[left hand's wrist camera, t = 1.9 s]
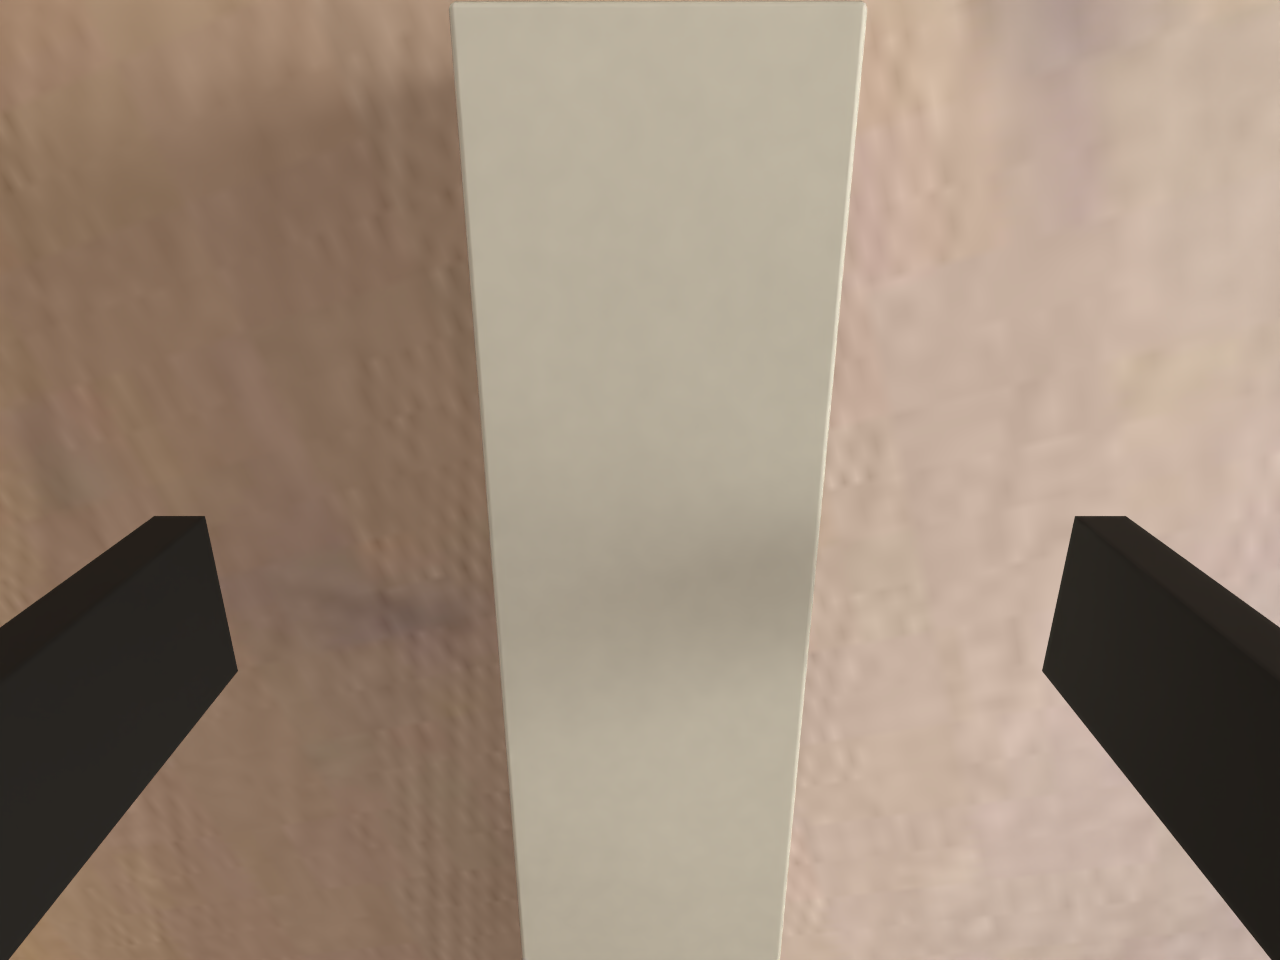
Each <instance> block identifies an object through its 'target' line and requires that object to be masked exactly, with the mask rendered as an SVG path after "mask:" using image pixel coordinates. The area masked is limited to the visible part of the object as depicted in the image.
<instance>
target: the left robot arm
mask: <svg viewBox="0 0 1280 960" xmlns="http://www.w3.org/2000/svg"><path fill="white" fill-rule="evenodd" d="M237 671H238V669H237V665H236V660H235V655H234V651H233V646H232V641H231V637H230V632H229V627H228V622H227V618H226V613H225V608H224V604H223V599H222V594H221V590H220V585H219V580H218V575H217V571H216V566H215V561H214V557H213V552H212V547H211V543H210V538H209V533H208V528H207V524H206V519H205V516H154V517H152V518H151V519H150V520H148V521H147V522H145V523H144V524H143V525H141V526H140V527H139V528H137V529H136V530H134V531H133V532H132V533H130V534H129V535H128V536H126V537H125V538H123V539H122V540H121V541H119V542H118V543H116V544H115V545H114V546H112V547H111V548H110V549H108V550H107V551H105V552H104V553H103V554H101V555H100V556H99V557H97V558H96V559H94V560H93V561H92V562H90V563H89V564H87V565H86V566H85V567H83V568H82V569H81V570H79V571H78V572H76V573H75V574H74V575H72V576H71V577H69V578H68V579H67V580H65V581H64V582H63V583H61V584H60V585H58V586H57V587H56V588H54V589H53V590H52V591H50V592H49V593H47V594H46V595H45V596H43V597H42V598H40V599H39V600H38V601H36V602H35V603H34V604H32V605H31V606H29V607H28V608H27V609H25V610H24V611H23V612H21V613H20V614H18V615H17V616H16V617H14V618H13V619H11V620H10V621H9V622H7V623H6V624H5V625H3V626H2V627H0V960H9V958H10V957H11V956H12V955H13V953H14V952H15V951H16V950H17V948H18V947H19V946H20V945H21V943H22V942H23V941H24V940H25V938H26V937H27V936H28V935H29V933H30V932H31V931H32V929H33V928H34V927H35V926H36V924H37V923H38V922H39V921H40V919H41V918H42V917H43V916H44V914H45V913H46V912H47V911H48V909H49V908H50V907H51V906H52V904H53V903H54V902H55V901H56V899H57V898H58V897H59V895H60V894H61V893H62V892H63V890H64V889H65V888H66V887H67V885H68V884H69V883H70V882H71V880H72V879H73V878H74V877H75V875H76V874H77V873H78V872H79V870H80V869H81V868H82V867H83V865H84V864H85V863H86V861H87V860H88V859H89V858H90V856H91V855H92V854H93V853H94V851H95V850H96V849H97V848H98V846H99V845H100V844H101V843H102V841H103V840H104V839H105V838H106V836H107V835H108V834H109V833H110V831H111V830H112V829H113V827H114V826H115V825H116V824H117V822H118V821H119V820H120V819H121V817H122V816H123V815H124V814H125V812H126V811H127V810H128V809H129V807H130V806H131V805H132V804H133V802H134V801H135V800H136V799H137V797H138V796H139V795H140V793H141V792H142V791H143V790H144V788H145V787H146V786H147V785H148V783H149V782H150V781H151V780H152V778H153V777H154V776H155V775H156V773H157V772H158V771H159V770H160V768H161V767H162V766H163V765H164V763H165V762H166V761H167V760H168V758H169V757H170V756H171V754H172V753H173V752H174V751H175V749H176V748H177V747H178V746H179V744H180V743H181V742H182V741H183V739H184V738H185V737H186V736H187V734H188V733H189V732H190V731H191V729H192V728H193V727H194V726H195V724H196V723H197V722H198V720H199V719H200V718H201V717H202V715H203V714H204V713H205V712H206V710H207V709H208V708H209V707H210V705H211V704H212V703H213V702H214V700H215V699H216V698H217V697H218V695H219V694H220V693H221V692H222V690H223V689H224V688H225V686H226V685H227V684H228V683H229V681H230V680H231V679H232V678H233V676H234V675H235V674H236V673H237ZM1042 671H1043V673H1044V674H1045V675H1046V676H1047V678H1048V679H1049V680H1050V681H1051V683H1052V684H1053V685H1054V686H1055V688H1056V689H1057V690H1058V692H1059V693H1060V694H1061V695H1062V697H1063V698H1064V699H1065V700H1066V702H1067V703H1068V704H1069V705H1070V707H1071V708H1072V709H1073V710H1074V712H1075V713H1076V714H1077V715H1078V717H1079V718H1080V719H1081V720H1082V722H1083V723H1084V724H1085V726H1086V727H1087V728H1088V729H1089V731H1090V732H1091V733H1092V734H1093V736H1094V737H1095V738H1096V739H1097V741H1098V742H1099V743H1100V744H1101V746H1102V747H1103V748H1104V749H1105V751H1106V752H1107V753H1108V754H1109V756H1110V757H1111V758H1112V760H1113V761H1114V762H1115V763H1116V765H1117V766H1118V767H1119V768H1120V770H1121V771H1122V772H1123V773H1124V775H1125V776H1126V777H1127V778H1128V780H1129V781H1130V782H1131V783H1132V785H1133V786H1134V787H1135V788H1136V790H1137V791H1138V792H1139V793H1140V795H1141V796H1142V797H1143V799H1144V800H1145V801H1146V802H1147V804H1148V805H1149V806H1150V807H1151V809H1152V810H1153V811H1154V812H1155V814H1156V815H1157V816H1158V817H1159V819H1160V820H1161V821H1162V822H1163V824H1164V825H1165V826H1166V827H1167V829H1168V830H1169V831H1170V833H1171V834H1172V835H1173V836H1174V838H1175V839H1176V840H1177V841H1178V843H1179V844H1180V845H1181V846H1182V848H1183V849H1184V850H1185V851H1186V853H1187V854H1188V855H1189V856H1190V858H1191V859H1192V860H1193V861H1194V863H1195V864H1196V865H1197V867H1198V868H1199V869H1200V870H1201V872H1202V873H1203V874H1204V875H1205V877H1206V878H1207V879H1208V880H1209V882H1210V883H1211V884H1212V885H1213V887H1214V888H1215V889H1216V890H1217V892H1218V893H1219V894H1220V895H1221V897H1222V898H1223V899H1224V901H1225V902H1226V903H1227V904H1228V906H1229V907H1230V908H1231V909H1232V911H1233V912H1234V913H1235V914H1236V916H1237V917H1238V918H1239V919H1240V921H1241V922H1242V923H1243V924H1244V926H1245V927H1246V928H1247V929H1248V931H1249V932H1250V933H1251V935H1252V936H1253V937H1254V938H1255V940H1256V941H1257V942H1258V943H1259V945H1260V946H1261V947H1262V948H1263V950H1264V951H1265V952H1266V953H1267V955H1268V956H1269V957H1270V958H1271V960H1280V627H1278V626H1277V625H1275V624H1274V623H1273V622H1271V621H1270V620H1269V619H1267V618H1266V617H1264V616H1263V615H1262V614H1260V613H1259V612H1257V611H1256V610H1255V609H1253V608H1252V607H1251V606H1249V605H1248V604H1246V603H1245V602H1244V601H1242V600H1241V599H1240V598H1238V597H1237V596H1235V595H1234V594H1233V593H1231V592H1230V591H1228V590H1227V589H1226V588H1224V587H1223V586H1222V585H1220V584H1219V583H1217V582H1216V581H1215V580H1213V579H1212V578H1210V577H1209V576H1208V575H1206V574H1205V573H1204V572H1202V571H1201V570H1199V569H1198V568H1197V567H1195V566H1194V565H1193V564H1191V563H1190V562H1188V561H1187V560H1186V559H1184V558H1183V557H1181V556H1180V555H1179V554H1177V553H1176V552H1175V551H1173V550H1172V549H1170V548H1169V547H1168V546H1166V545H1165V544H1164V543H1162V542H1161V541H1159V540H1158V539H1157V538H1155V537H1154V536H1152V535H1151V534H1150V533H1148V532H1147V531H1146V530H1144V529H1143V528H1141V527H1140V526H1139V525H1137V524H1136V523H1134V522H1133V521H1132V520H1130V519H1129V518H1128V517H1126V516H1075V519H1074V524H1073V528H1072V533H1071V538H1070V543H1069V547H1068V552H1067V557H1066V561H1065V566H1064V571H1063V575H1062V580H1061V585H1060V590H1059V594H1058V599H1057V604H1056V608H1055V613H1054V618H1053V622H1052V627H1051V632H1050V637H1049V641H1048V646H1047V651H1046V655H1045V660H1044V665H1043V669H1042Z"/></svg>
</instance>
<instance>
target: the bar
mask: <svg viewBox="0 0 1280 960" xmlns="http://www.w3.org/2000/svg"><path fill="white" fill-rule="evenodd" d="M449 18H450V31H451V43H452V56H453V69H454V82H455V95H456V108H457V121H458V134H459V147H460V160H461V173H462V186H463V198H464V211H465V224H466V237H467V250H468V263H469V276H470V289H471V302H472V315H473V328H474V341H475V354H476V366H477V379H478V392H479V405H480V418H481V431H482V444H483V457H484V470H485V483H486V496H487V509H488V521H489V534H490V547H491V560H492V573H493V586H494V599H495V612H496V625H497V638H498V651H499V664H500V676H501V689H502V702H503V715H504V728H505V741H506V754H507V767H508V780H509V793H510V806H511V819H512V831H513V844H514V857H515V870H516V883H517V896H518V909H519V922H520V935H521V948H522V960H780V953H781V942H782V931H783V920H784V909H785V899H786V888H787V877H788V866H789V855H790V844H791V833H792V822H793V812H794V801H795V790H796V779H797V768H798V757H799V746H800V735H801V725H802V714H803V703H804V692H805V681H806V670H807V659H808V649H809V638H810V627H811V616H812V605H813V594H814V583H815V572H816V562H817V551H818V540H819V529H820V518H821V507H822V496H823V486H824V475H825V464H826V453H827V442H828V431H829V420H830V409H831V399H832V388H833V377H834V366H835V355H836V344H837V333H838V323H839V312H840V301H841V290H842V279H843V268H844V257H845V246H846V236H847V225H848V214H849V203H850V192H851V181H852V170H853V160H854V149H855V138H856V127H857V116H858V105H859V94H860V83H861V73H862V62H863V51H864V40H865V29H866V18H867V6H866V3H865V2H863V1H455V2H453V3H451V4H450V8H449Z"/></svg>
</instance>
